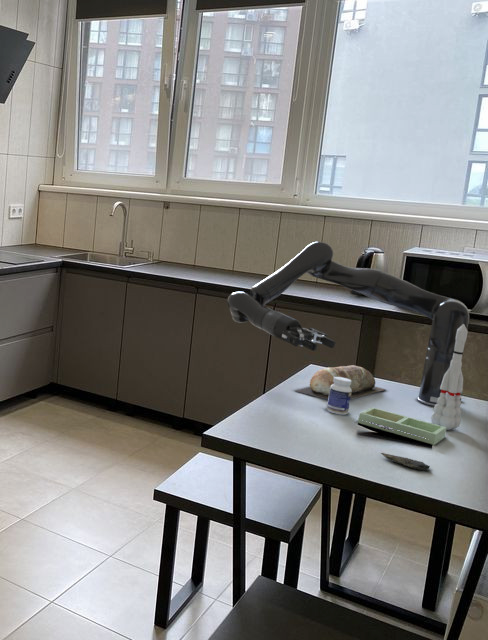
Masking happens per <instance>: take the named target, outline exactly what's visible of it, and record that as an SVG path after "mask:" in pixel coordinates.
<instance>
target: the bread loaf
mask: <svg viewBox="0 0 488 640" xmlns="http://www.w3.org/2000/svg"><path fill="white" fill-rule="evenodd" d="M334 377H343V378H347V379H350V380H351V385H350V388H351V390H352V393H351V398H350V400H353V399H356V398H360V397H364V396H367V395H368V396H369V395H371V394H376V393H379V392H382V391H386V389H385V388H381V387H378V386H376V379H375V377H374V376H373V374H372V373H371V372H370V370H368V369H366V368H364V367H361V366H358V365H354V364H352V365H347V366H346V365H341V366H334V367H333V366H332V367H329V366H328V367H325V368H320V369H319V370H317V371H316V372H314V374H313V375H312V377H311V379H310V380H309V387H305V388H301V389H298V390H296V392H298V393H301V394H305V395H308V396H309V395H310V396H312V397H317V398H322V399H326V400H328V397H329V392H330V386H331V385H332V384H334V382H333V379H334Z"/></svg>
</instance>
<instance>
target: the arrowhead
mask: <svg viewBox="0 0 488 640" xmlns="http://www.w3.org/2000/svg"><path fill="white" fill-rule="evenodd" d="M380 455H382V456H383V457H384V458H385V459H387V460H389V461H392V462H395V463H396V464H400V465H403V466H407V467H409V468H410V469H411V468H412V469H415V470H419V471H429V470H430V468H431V466H430V465H428V464H426V463H425V462H423V461H420V460H416V459H412V458H408V457H404V456H399V455H394V454H389V453H385V452H380Z"/></svg>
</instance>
